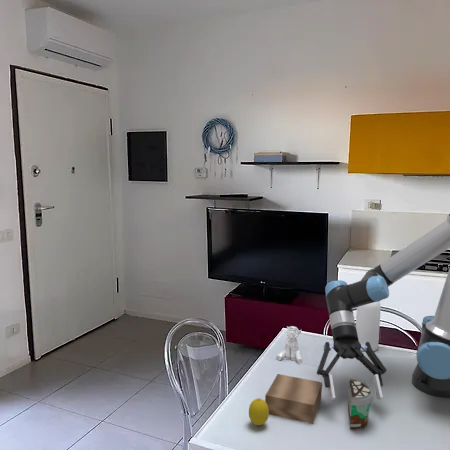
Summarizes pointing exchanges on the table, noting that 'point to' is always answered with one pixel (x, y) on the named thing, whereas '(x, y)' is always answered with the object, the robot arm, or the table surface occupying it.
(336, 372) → the table surface
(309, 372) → the table surface
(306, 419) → the square wooden plinth
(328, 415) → the table surface
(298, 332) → the white creature statuette
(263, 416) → the lemon
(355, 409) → the food container
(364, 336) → the alcohol
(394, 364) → the table surface
